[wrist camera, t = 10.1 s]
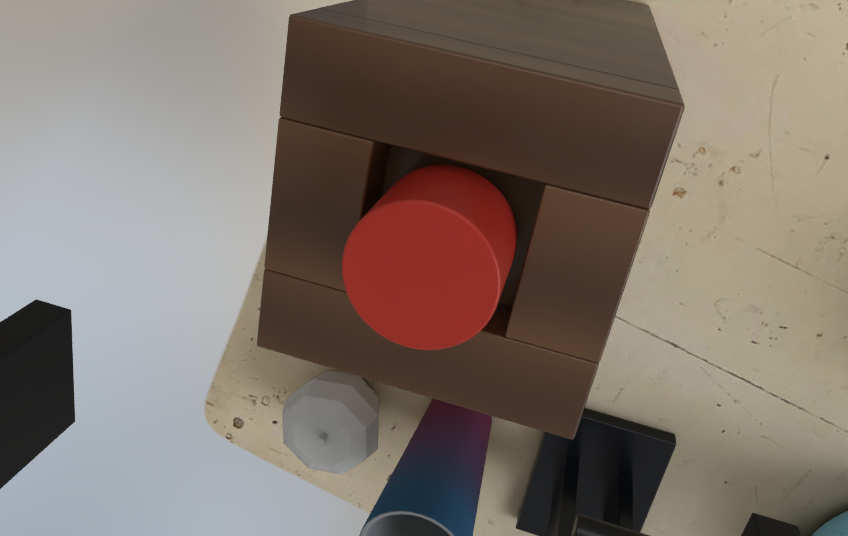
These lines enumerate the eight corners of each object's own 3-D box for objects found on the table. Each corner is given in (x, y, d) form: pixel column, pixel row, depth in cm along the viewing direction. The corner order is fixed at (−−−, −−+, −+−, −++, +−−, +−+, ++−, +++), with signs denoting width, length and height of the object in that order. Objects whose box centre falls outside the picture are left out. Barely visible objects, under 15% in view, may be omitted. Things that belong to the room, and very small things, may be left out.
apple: (373, 451, 62) (347, 505, 56) (290, 406, 63) (255, 454, 57) (412, 381, 59) (389, 430, 53) (323, 333, 59) (290, 377, 53)
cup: (409, 381, 59) (346, 511, 45) (495, 376, 57) (455, 511, 43) (426, 454, 61) (371, 598, 48) (509, 452, 59) (476, 602, 46)
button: (390, 148, 21) (352, 181, 18) (533, 184, 20) (518, 224, 17) (368, 277, 22) (331, 326, 19) (500, 313, 22) (481, 369, 19)
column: (485, -30, 46) (288, 13, 19) (649, 5, 44) (686, 105, 18) (453, 129, 50) (255, 346, 23) (602, 166, 49) (573, 441, 22)
